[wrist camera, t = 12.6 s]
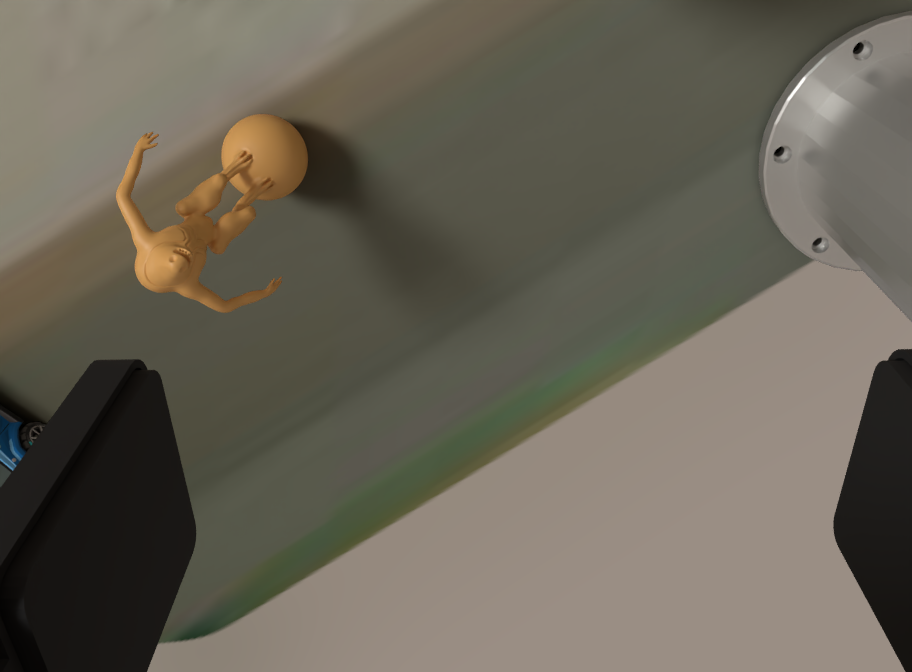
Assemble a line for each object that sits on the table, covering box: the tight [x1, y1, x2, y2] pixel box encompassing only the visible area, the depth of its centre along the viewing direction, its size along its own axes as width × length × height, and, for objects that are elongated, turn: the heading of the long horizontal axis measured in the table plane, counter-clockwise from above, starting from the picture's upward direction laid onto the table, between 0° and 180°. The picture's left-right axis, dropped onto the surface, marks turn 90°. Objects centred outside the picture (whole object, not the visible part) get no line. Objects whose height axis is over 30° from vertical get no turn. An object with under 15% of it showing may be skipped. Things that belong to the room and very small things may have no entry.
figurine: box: [116, 114, 308, 313], centre depth 36 cm, size 8×6×12 cm
